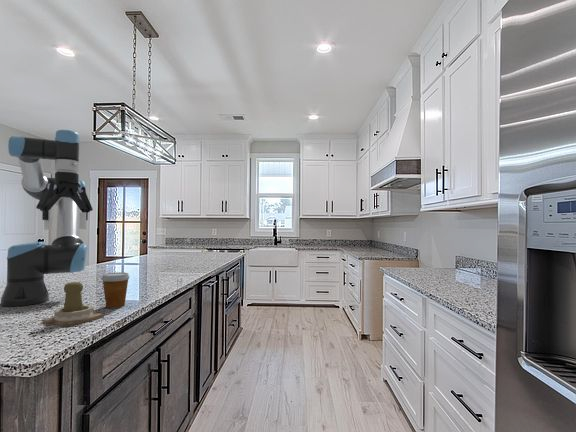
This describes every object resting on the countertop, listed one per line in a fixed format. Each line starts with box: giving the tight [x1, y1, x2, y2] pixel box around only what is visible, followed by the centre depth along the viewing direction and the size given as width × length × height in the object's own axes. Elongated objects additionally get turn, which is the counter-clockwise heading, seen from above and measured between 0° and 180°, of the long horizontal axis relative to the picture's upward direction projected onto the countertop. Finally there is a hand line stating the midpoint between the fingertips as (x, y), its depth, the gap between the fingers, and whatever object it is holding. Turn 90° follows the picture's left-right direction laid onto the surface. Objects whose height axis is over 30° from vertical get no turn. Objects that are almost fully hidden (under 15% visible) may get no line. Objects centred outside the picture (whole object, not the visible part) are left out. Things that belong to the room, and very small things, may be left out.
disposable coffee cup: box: [101, 271, 130, 309], centre depth 131 cm, size 10×10×12 cm
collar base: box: [41, 304, 105, 328], centre depth 112 cm, size 12×12×4 cm
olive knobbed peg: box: [63, 281, 84, 312], centre depth 112 cm, size 6×6×11 cm
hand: (66, 229), depth 130 cm, fingers open, 13 cm apart
